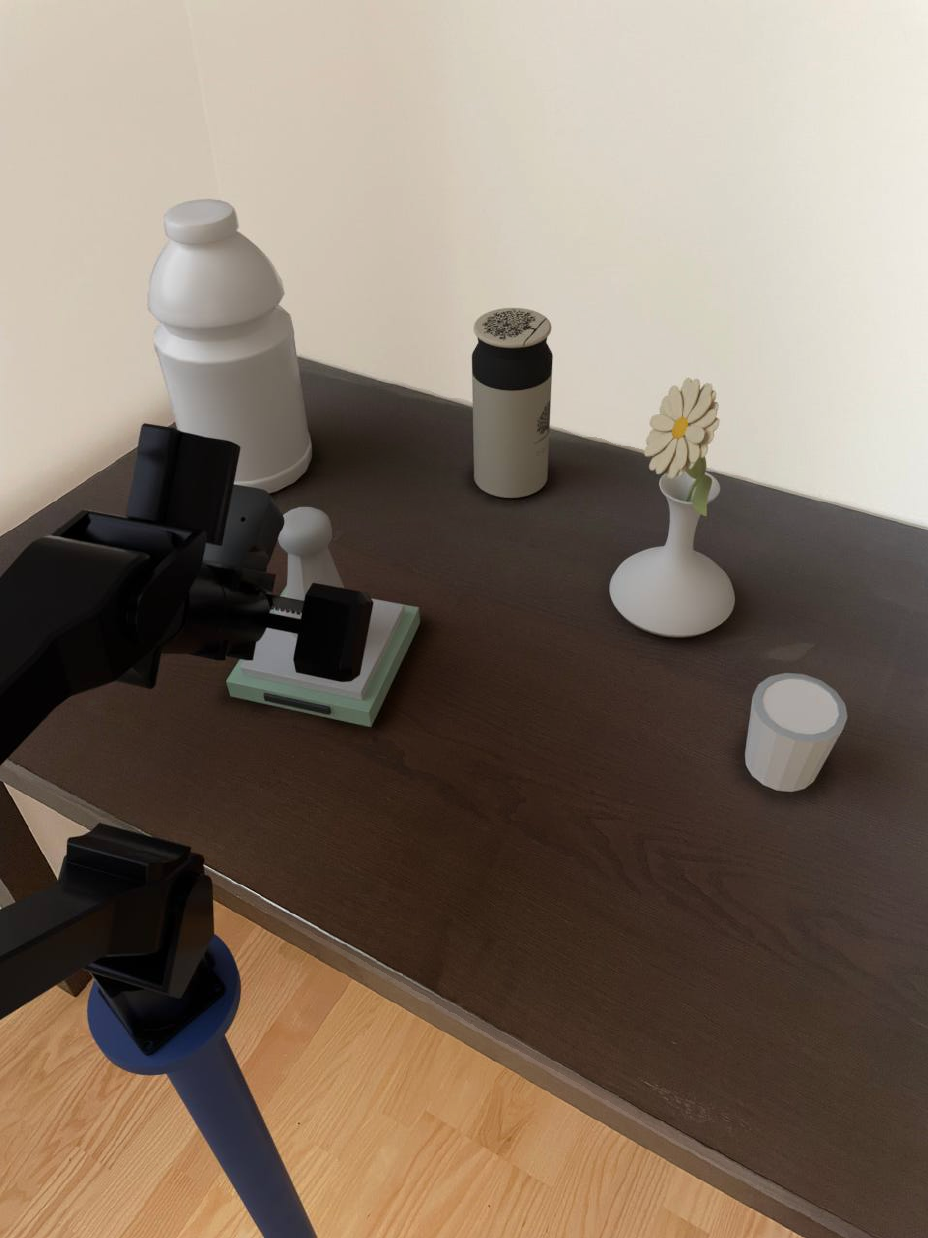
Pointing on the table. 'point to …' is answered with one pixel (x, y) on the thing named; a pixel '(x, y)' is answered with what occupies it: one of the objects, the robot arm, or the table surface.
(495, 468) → the travel mug
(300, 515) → the salt shaker
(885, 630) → the table surface
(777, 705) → the shot glass
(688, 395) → the flower in vase
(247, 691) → the scale
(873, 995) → the table surface
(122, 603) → the robot arm
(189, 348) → the bottle
